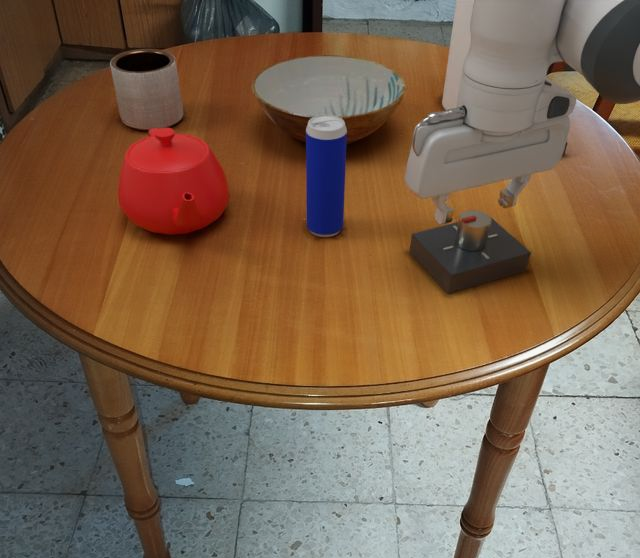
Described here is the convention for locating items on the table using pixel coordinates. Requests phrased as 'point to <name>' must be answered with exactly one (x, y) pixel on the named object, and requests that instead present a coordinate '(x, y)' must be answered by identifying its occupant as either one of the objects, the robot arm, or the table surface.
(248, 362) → the table surface
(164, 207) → the teapot
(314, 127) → the beverage can
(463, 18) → the canister
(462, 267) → the volume panel
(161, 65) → the planter
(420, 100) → the table surface
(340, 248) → the table surface
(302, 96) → the bowl
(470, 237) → the volume dial
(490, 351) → the table surface
